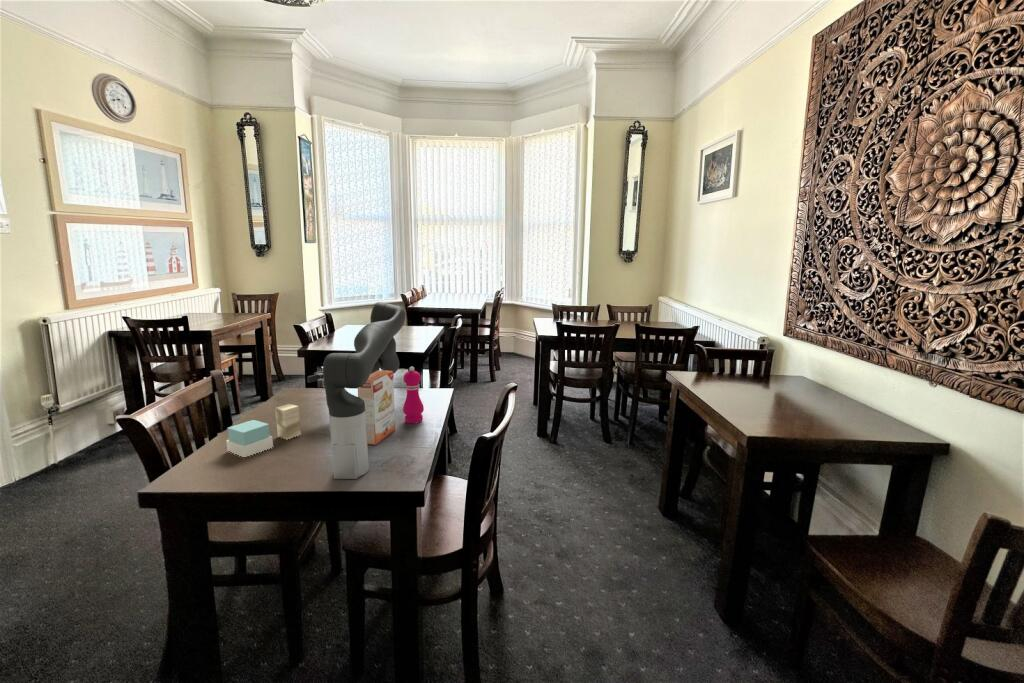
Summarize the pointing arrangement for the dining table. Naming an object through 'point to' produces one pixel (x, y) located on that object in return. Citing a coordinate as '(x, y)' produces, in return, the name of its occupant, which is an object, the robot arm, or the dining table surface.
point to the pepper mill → (412, 397)
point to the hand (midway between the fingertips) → (315, 381)
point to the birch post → (288, 421)
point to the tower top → (248, 432)
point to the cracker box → (378, 405)
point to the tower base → (250, 447)
